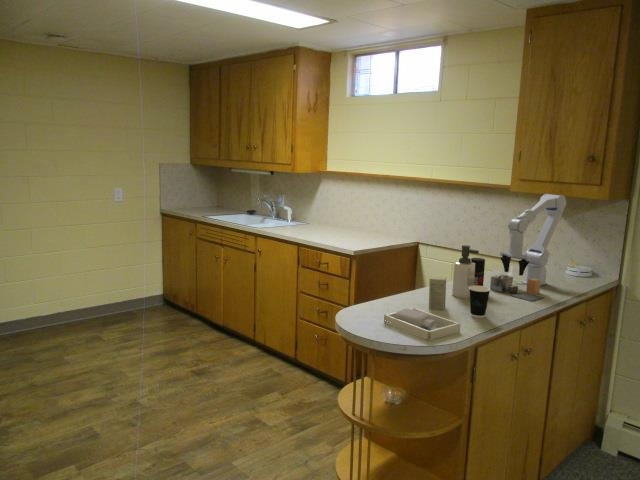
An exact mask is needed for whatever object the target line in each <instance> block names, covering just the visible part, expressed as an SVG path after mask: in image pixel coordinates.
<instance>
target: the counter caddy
mask: <svg viewBox="0 0 640 480" xmlns="http://www.w3.org/2000/svg"><path fill="white" fill-rule="evenodd" d="M410 309H411V310H415V311H420V312H424V313H428V314H429V316H430V319H429V320H434V321H436V324H439V325H438V326H440V327H438V328H434V329H432V330H428V329H425V328H420V327H418V326H415V325H412V324H410V323H407V322H404V321H402V320H399V319H396V318H394V315H395V313H396V312H397V311H396V312H391V313H387V314H384V315H383V324H386V325H389V326H391V327H394V328H396V329H399V330H401V331H404V332H406V333H409V334H411V335H414V336H417V337H419V338H420V339H424V340H427V341H428V342H429V341H432V340H436V339H439V338H442V337H446V336H451V335H453V334H457V333H460V332H461V323H459V322H456V321H454V320H450V319H448V318H445V317H442V316H439V315H437V314H434V313H430V312H427V311H425V310H422V309H419V308H416V307H414V308H413V307H412V308H410ZM385 320H386V321H385ZM387 321H388V322H387ZM390 322H391V323H390Z"/></svg>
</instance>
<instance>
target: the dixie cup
mask: <svg viewBox="0 0 640 480" xmlns="http://www.w3.org/2000/svg"><path fill="white" fill-rule="evenodd" d="M469 289H470V297H469V306H470V307H469V308H470V309H469V310H470V316H471V317H472V318H475V319H484V318H485V315H486V312H487V306H488V304H489V303H488V302H489V298H490V292H491V291H492V290H491V289H490V287H488V286H484V285H483V286H470V287H469Z"/></svg>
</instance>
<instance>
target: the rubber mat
mask: <svg viewBox="0 0 640 480" xmlns="http://www.w3.org/2000/svg"><path fill="white" fill-rule="evenodd" d="M510 297H511V298H512V297H513V298H516V299H519V300H525V301H528V302H535V301H540V300H543V299H545V298H546V297H545V296H541V295H538V294H531V293H527V292H526V291H522V292H518V294H511V295H510Z"/></svg>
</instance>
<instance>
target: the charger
mask: <svg viewBox="0 0 640 480" xmlns="http://www.w3.org/2000/svg"><path fill="white" fill-rule="evenodd" d="M411 309H412V308H407V307H406V308H402V309H401V310H398V311H396V313H395V312H394V313H395V315H394V318H396V319H399V320H402V321H404V322H407V323H410V324H412V325H415V326H418V327H420V328H423V329H425V328H427V329H433V328H434V327H438V326H439V324H436V321H434V320H429V319H430V316H429V314H428V313H429V312H428V313H424V312H420V311H415V310H411Z"/></svg>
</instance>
